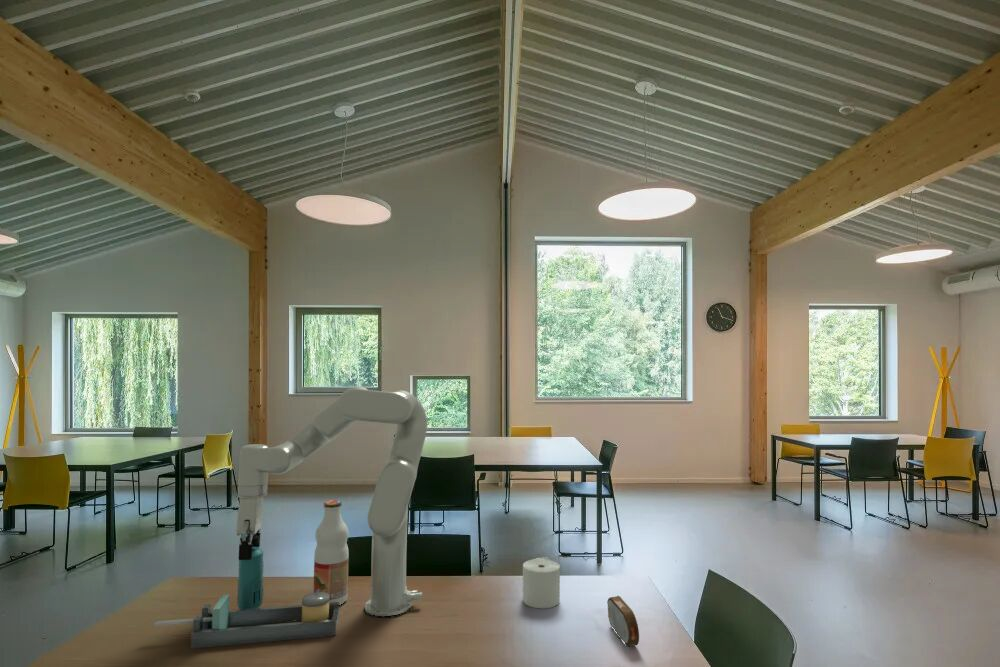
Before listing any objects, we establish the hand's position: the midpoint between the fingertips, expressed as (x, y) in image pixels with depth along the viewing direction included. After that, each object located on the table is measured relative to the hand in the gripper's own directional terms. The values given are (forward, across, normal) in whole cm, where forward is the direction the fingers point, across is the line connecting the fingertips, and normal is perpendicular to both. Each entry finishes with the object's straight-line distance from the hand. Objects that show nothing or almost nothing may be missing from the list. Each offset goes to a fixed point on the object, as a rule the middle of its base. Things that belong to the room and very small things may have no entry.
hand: (249, 553), depth 153 cm
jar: (+15, +13, +19) cm, 28 cm away
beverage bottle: (+16, 0, +1) cm, 16 cm away
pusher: (+15, +13, -10) cm, 23 cm away
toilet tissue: (+14, +8, +81) cm, 82 cm away
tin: (+13, +33, +95) cm, 101 cm away
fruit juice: (+15, -2, +22) cm, 27 cm away
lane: (+15, +13, +8) cm, 22 cm away
